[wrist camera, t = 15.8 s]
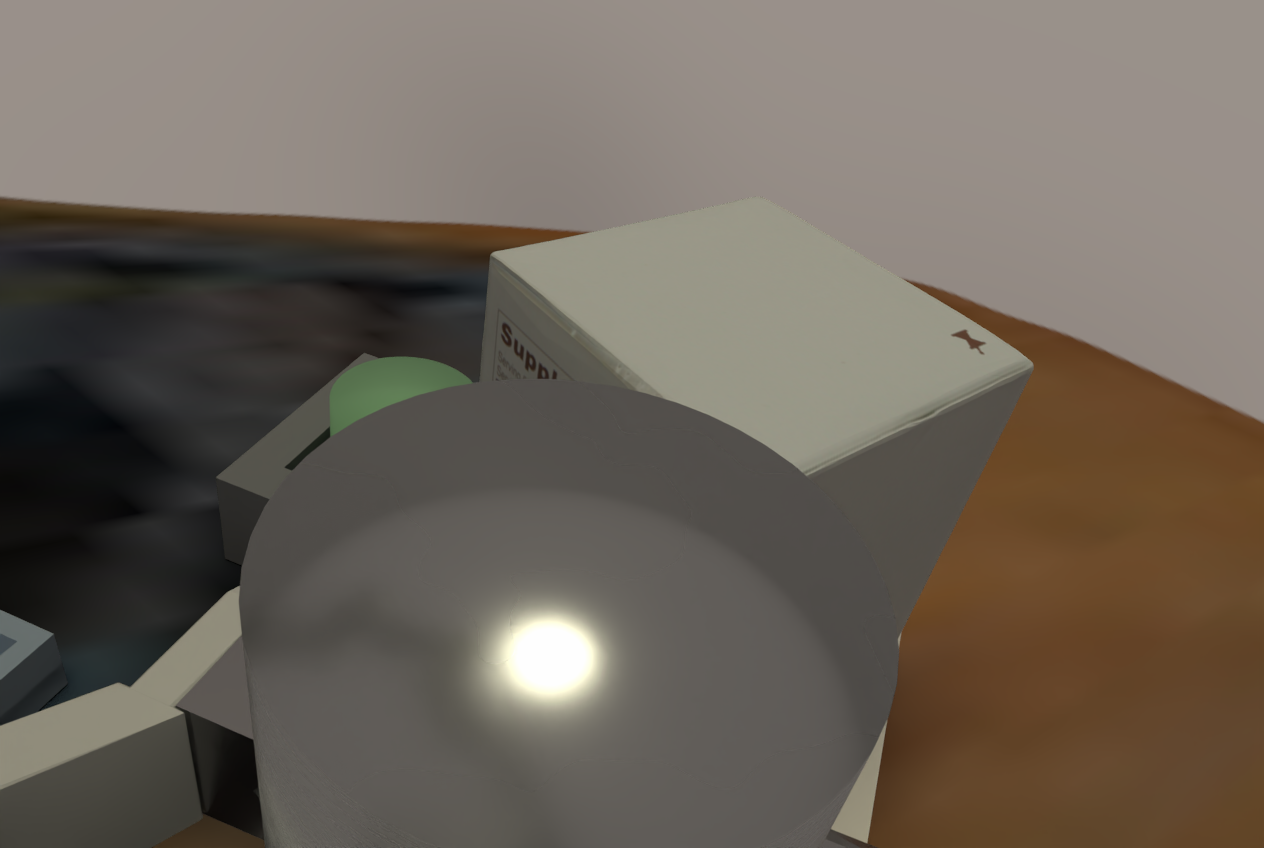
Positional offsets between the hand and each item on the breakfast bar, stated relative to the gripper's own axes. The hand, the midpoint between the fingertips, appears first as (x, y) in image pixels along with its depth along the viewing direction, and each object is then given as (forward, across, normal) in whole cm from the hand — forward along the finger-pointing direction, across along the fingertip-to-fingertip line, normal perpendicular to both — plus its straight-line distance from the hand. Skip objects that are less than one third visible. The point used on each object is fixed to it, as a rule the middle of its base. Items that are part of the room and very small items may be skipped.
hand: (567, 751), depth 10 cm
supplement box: (+9, 0, +12) cm, 15 cm away
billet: (-1, 0, +7) cm, 7 cm away
